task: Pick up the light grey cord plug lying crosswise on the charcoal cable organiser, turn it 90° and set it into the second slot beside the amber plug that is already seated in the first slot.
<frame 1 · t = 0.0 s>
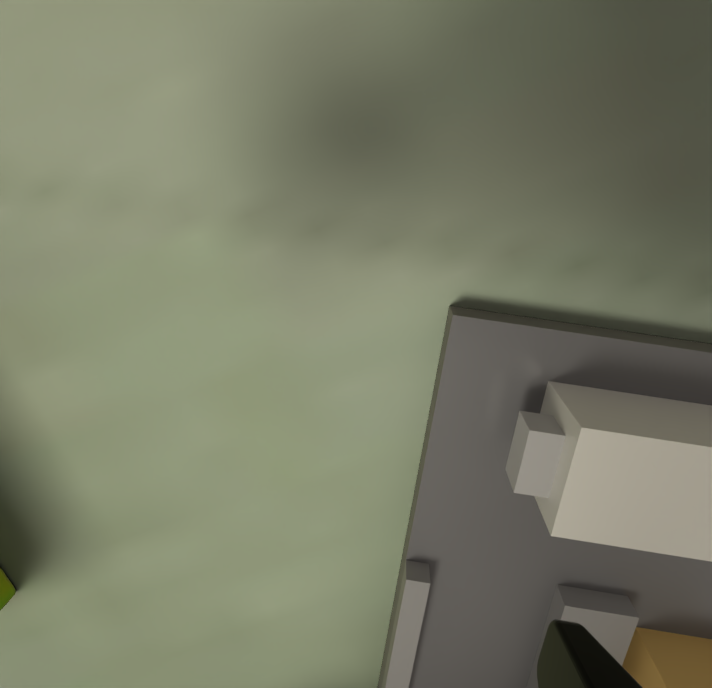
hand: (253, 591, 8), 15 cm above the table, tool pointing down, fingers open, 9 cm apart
grey plug: (639, 444, 21), point 1 cm above the table, touching organiser
organiser: (578, 575, 25), on the table
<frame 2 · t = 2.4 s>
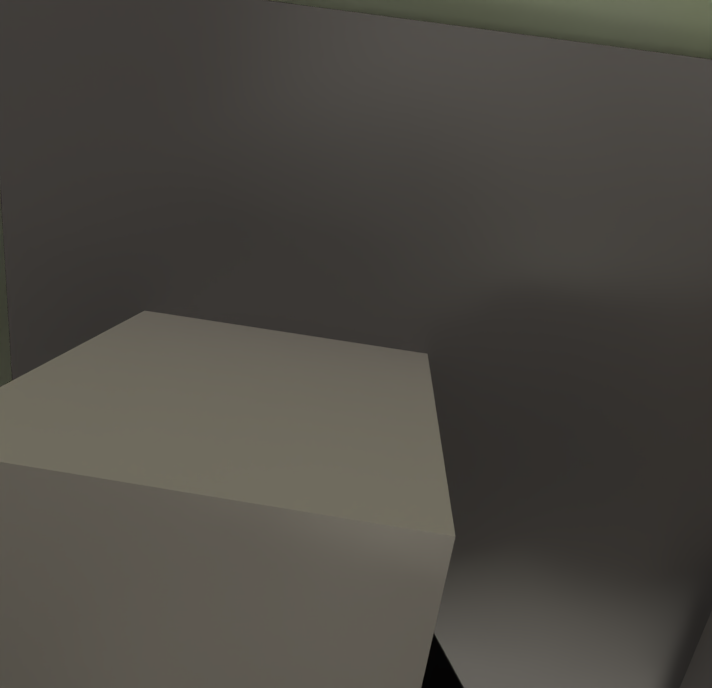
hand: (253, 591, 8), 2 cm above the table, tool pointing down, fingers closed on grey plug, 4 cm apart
grey plug: (261, 567, 9), point 1 cm above the table, touching gripper, organiser
organiser: (683, 579, 10), on the table
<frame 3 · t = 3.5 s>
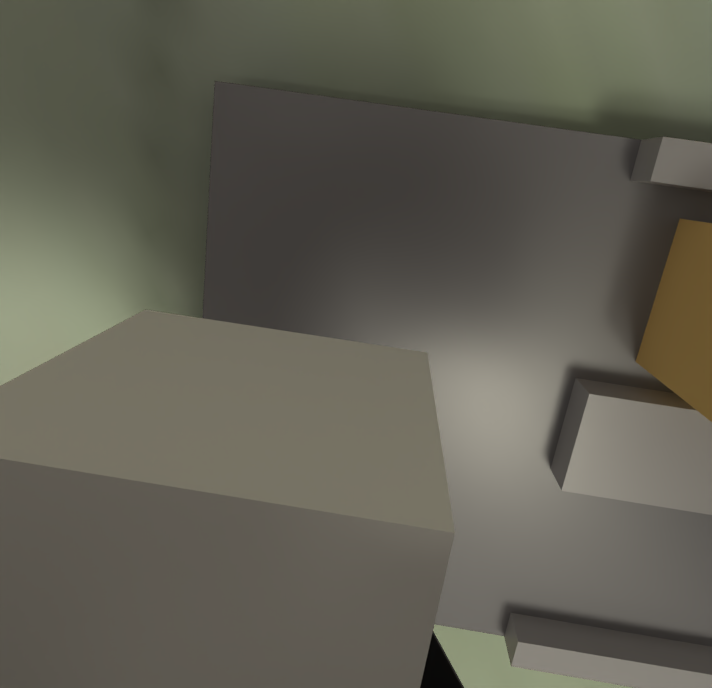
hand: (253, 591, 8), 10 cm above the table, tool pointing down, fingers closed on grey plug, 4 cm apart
grey plug: (261, 566, 9), point 9 cm above the table, touching gripper
organiser: (565, 407, 18), on the table
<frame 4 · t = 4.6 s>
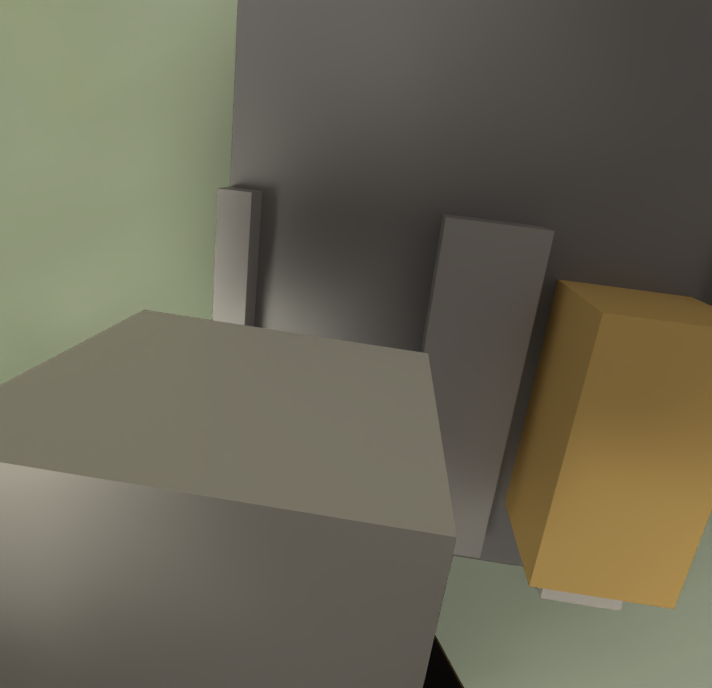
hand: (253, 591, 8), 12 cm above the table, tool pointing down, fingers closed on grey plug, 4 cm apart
grey plug: (261, 568, 9), point 11 cm above the table, touching gripper
organiser: (483, 231, 18), on the table
amber plug: (591, 408, 18), point 1 cm above the table, touching organiser
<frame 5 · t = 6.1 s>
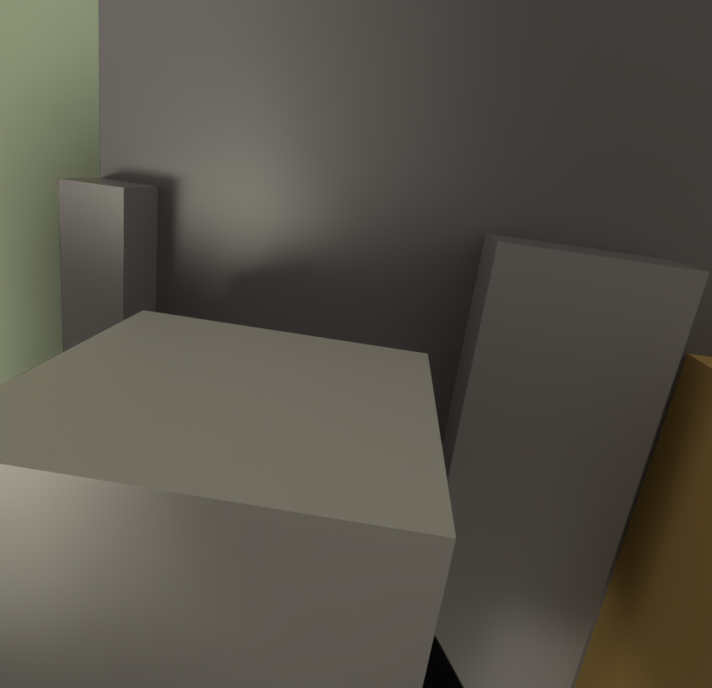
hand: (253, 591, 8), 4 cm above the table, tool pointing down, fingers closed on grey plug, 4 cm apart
grey plug: (260, 568, 9), point 4 cm above the table, touching gripper
organiser: (546, 262, 10), on the table
when the fingers open (3 cm above the table, at t = 7.1 s): grey plug drops 2 cm, resting on organiser.
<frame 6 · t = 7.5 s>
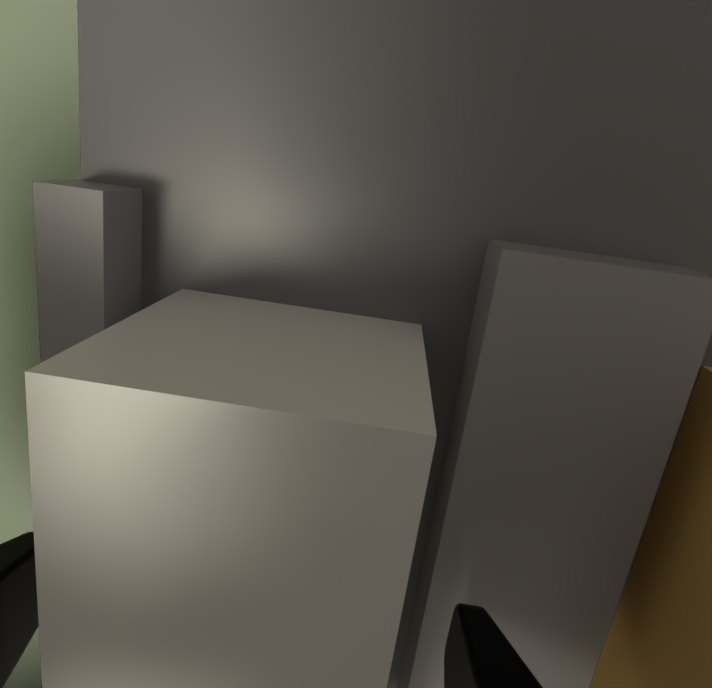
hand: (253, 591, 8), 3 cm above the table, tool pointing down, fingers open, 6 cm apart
grey plug: (279, 512, 10), point 1 cm above the table, touching organiser
organiser: (552, 268, 10), on the table
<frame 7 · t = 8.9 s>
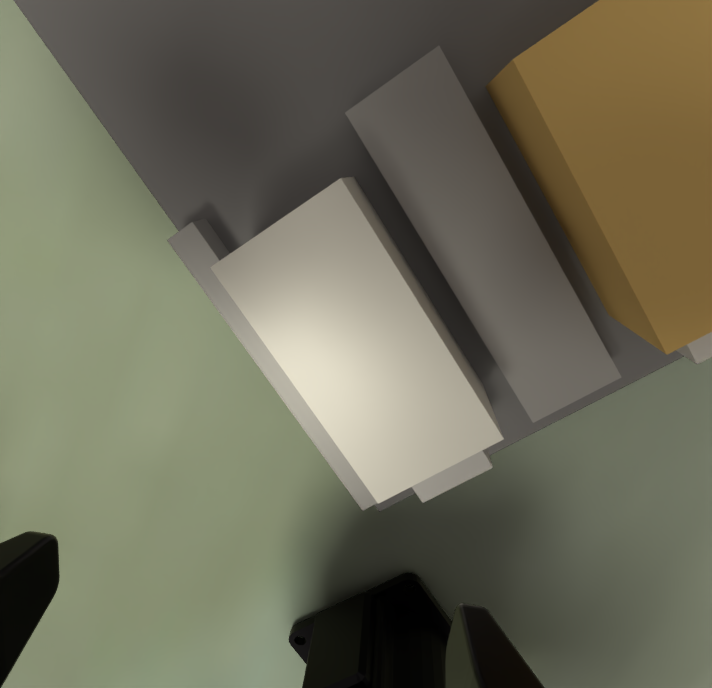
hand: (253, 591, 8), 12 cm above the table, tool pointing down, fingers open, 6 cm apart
grey plug: (369, 317, 18), point 1 cm above the table, touching organiser
organiser: (400, 107, 17), on the table
amber plug: (612, 168, 16), point 1 cm above the table, touching organiser
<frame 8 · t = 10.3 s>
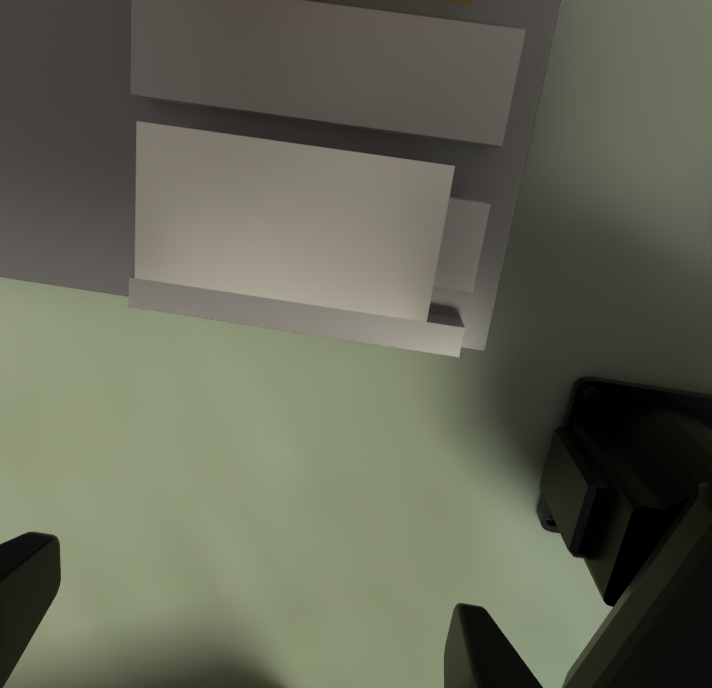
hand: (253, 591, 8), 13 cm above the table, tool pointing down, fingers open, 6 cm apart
grey plug: (310, 214, 18), point 1 cm above the table, touching organiser
organiser: (183, 59, 18), on the table
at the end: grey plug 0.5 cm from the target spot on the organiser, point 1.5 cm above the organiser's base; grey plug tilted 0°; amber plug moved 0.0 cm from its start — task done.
